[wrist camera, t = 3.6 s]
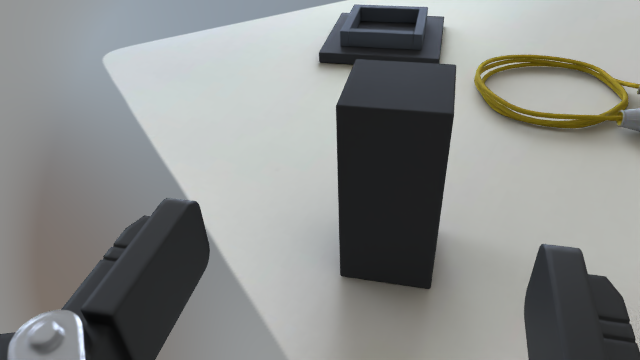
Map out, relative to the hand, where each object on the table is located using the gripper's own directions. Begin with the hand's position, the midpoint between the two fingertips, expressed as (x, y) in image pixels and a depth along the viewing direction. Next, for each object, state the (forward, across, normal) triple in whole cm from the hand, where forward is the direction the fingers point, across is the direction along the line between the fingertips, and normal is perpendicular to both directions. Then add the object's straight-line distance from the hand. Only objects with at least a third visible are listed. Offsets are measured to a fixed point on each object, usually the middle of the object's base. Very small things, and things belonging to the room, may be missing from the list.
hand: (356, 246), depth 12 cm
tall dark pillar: (+11, 0, +11) cm, 16 cm away
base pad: (+40, +4, +11) cm, 42 cm away
